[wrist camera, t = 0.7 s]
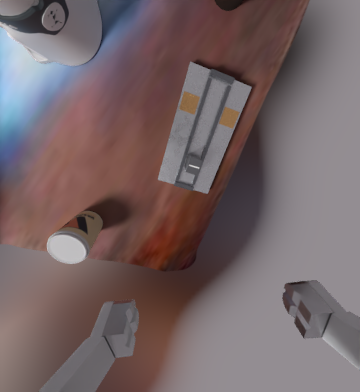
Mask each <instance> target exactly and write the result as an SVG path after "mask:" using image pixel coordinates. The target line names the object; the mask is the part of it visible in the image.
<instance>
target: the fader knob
mask: <svg viewBox="0 0 360 392" xmlns="http://www.w3.org/2000/svg"><path fill="white" fill-rule="evenodd" d="M202 161H203V160H202V159H201V158H200V157H199V156H196V155H192V154H189V155H188V158H187V161H186V164H185V167H184V168H185V171H186V172H187V173H190V174H193V175H198V172H199V169H200V167H201V164H202Z"/></svg>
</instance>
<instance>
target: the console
mask: <svg viewBox="0 0 360 392" xmlns="http://www.w3.org/2000/svg"><path fill="white" fill-rule="evenodd" d="M251 88H252V87H251V86H248V85H246V84H243V83H241V82H239V81H236V80H235V78H233V77H231V76H228V75H226V74H224V73H221V72H219V71H216V70H214V69H211V70H210V69H207V68H205V67H202V66H200V65H197V64H195V63H193V62H190V64H189V68H188V72H187V75H186V79H185V82H184V86H183V90H182V93H181V97H180V101H179V104H178V108H177V111H176V115H175V119H174V122H173V126H172V129H171V133H170V137H169V140H168V144H167V148H166V151H165V155H164V158H163V162H162V166H161V169H160V173H159V176H158V180H161V181H164V182H168V183H171V184H174V186H177V187H181V188H184V189H188V190H191V191H193V190H196V191H200V192H203V193H207V194H208V191H209V189H210V187H211V184H212V182H213V179H214V177H215V175H216V172H217V170H218V167H219V165H220V163H221V160H222V158H223V155H224V153H225V151H226V148H227V146H228V143H229V141H230V139H231V136H232V134H233V131H234V129H235V126H236V124H237V122H238V119H239V117H240V114H241V112H242V110H243V107H244V105H245V102H246V100H247V98H248V95H249V93H250V90H251ZM189 154H192V155H196V156H199V157H200V158H201V159H202V160H203V161H202V164H201V167H200V169H199V172H198V175H193V174H190V173H187V172H186V171H185V168H184V167H185V164H186V161H187V158H188V155H189Z"/></svg>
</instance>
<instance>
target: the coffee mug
mask: <svg viewBox="0 0 360 392" xmlns="http://www.w3.org/2000/svg"><path fill="white" fill-rule="evenodd" d="M242 1H243V0H215V2H216V4H217V5H218V6H219V7H220V8H221V9H223V10H226V11H230V10H233V9H235V8H237V7H238V6H239V5H240V4H241V2H242Z"/></svg>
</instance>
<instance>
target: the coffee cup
mask: <svg viewBox="0 0 360 392" xmlns="http://www.w3.org/2000/svg"><path fill="white" fill-rule="evenodd" d="M102 226H103V221H102V219H101V217H100V216H99V215H98V214H96V213H95V212H92V211H83V212H81V213H79V214H78V215H76V216H75V217H74V218H73V219H71V220H70V221H69V222H68V223H67V224H65V225H64V226H63V227H62V228H60V229H59V230H58V231H57V232H56V233H54V234H52V235H51V236H50V238H49V239H48V242H47V250H48V252H49V253H50V254H51V256H52V257H53V258H55V259H56V260H58V261H60V262H63V263H68V264H74V263H78V262H81V261H82V260H84V259H85V258H86V257H87V256H88V254H89V252H90V250H91V248H92V246H93V244H94V242H95V240H96V238H97V236H98V235H99V233H100V231H101V229H102Z"/></svg>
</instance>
